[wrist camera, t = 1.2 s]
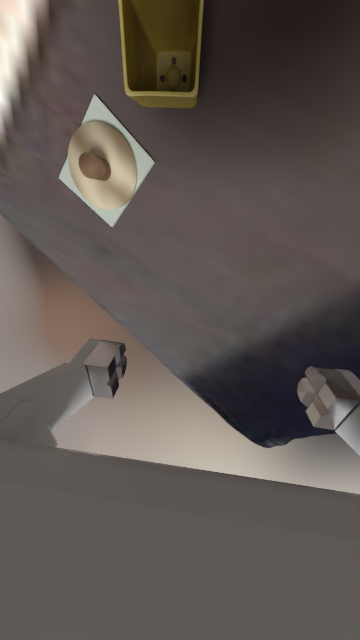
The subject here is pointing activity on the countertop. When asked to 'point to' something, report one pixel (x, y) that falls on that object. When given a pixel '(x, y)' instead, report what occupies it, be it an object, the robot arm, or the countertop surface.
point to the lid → (102, 165)
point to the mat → (143, 160)
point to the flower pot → (161, 51)
